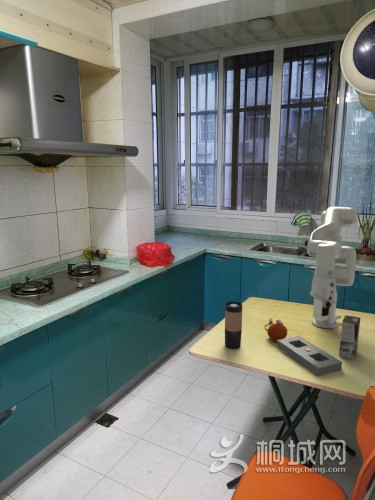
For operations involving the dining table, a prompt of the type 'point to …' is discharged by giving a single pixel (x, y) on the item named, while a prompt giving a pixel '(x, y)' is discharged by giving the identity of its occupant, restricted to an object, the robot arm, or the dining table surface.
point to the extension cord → (276, 321)
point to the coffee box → (349, 337)
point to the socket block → (309, 355)
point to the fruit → (277, 331)
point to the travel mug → (233, 325)
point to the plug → (318, 308)
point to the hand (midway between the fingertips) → (320, 313)
